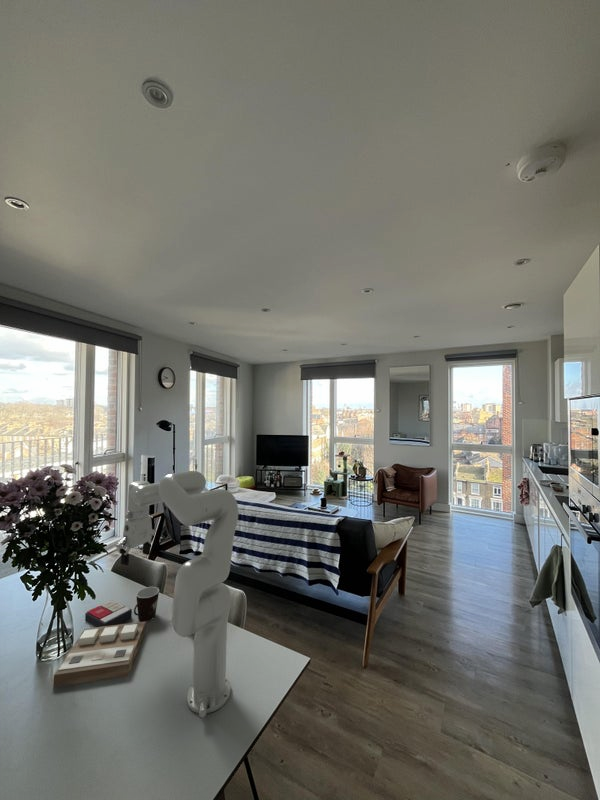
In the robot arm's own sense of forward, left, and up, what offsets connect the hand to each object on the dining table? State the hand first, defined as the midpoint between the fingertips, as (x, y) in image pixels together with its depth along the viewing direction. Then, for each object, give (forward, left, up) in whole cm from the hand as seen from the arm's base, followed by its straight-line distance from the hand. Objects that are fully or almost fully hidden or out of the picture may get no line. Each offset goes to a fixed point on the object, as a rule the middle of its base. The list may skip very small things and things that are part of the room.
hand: (135, 559), depth 123 cm
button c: (-5, +13, -26) cm, 29 cm away
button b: (-5, +6, -26) cm, 27 cm away
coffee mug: (+10, -2, -28) cm, 30 cm away
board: (-9, +6, -28) cm, 30 cm away
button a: (-5, 0, -26) cm, 26 cm away
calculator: (+13, +12, -29) cm, 34 cm away
